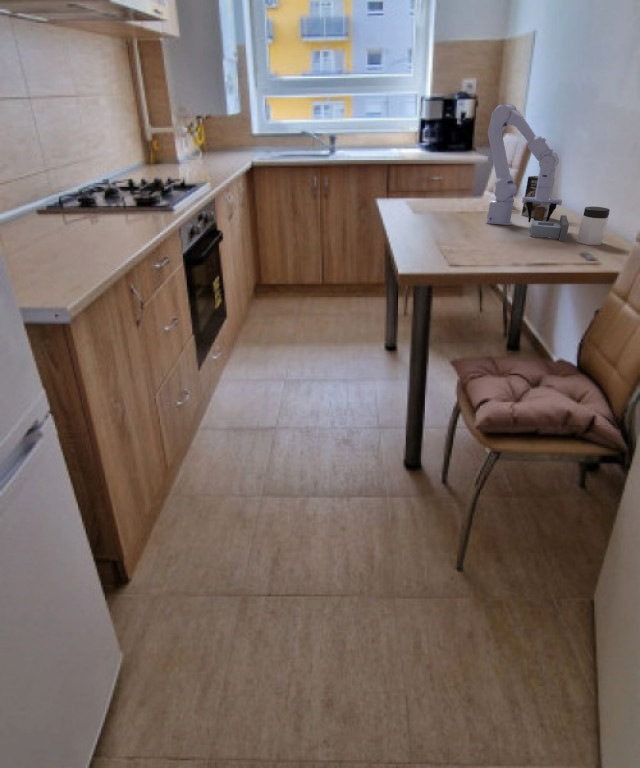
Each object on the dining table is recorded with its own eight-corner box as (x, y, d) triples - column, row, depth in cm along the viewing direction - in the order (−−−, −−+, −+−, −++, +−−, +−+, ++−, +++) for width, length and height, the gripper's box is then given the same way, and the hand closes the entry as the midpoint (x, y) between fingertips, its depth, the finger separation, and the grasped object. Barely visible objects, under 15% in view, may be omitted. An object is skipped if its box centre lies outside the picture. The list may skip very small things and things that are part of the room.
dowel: (532, 228, 228) (535, 207, 224) (532, 226, 231) (535, 205, 227) (541, 229, 227) (545, 208, 223) (541, 227, 230) (545, 206, 226)
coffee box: (520, 215, 251) (527, 176, 243) (528, 213, 254) (535, 175, 247) (539, 218, 245) (547, 179, 237) (547, 217, 248) (555, 177, 241)
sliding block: (530, 236, 215) (532, 225, 213) (530, 230, 224) (532, 220, 222) (558, 238, 213) (560, 227, 211) (557, 233, 221) (559, 222, 219)
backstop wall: (559, 241, 209) (562, 224, 206) (557, 230, 224) (560, 215, 222) (565, 241, 209) (568, 224, 206) (563, 231, 224) (566, 215, 221)
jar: (607, 244, 206) (616, 210, 201) (591, 246, 203) (599, 211, 197) (587, 238, 213) (595, 205, 208) (571, 240, 210) (578, 207, 205)
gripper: (524, 187, 220) (518, 223, 227) (565, 189, 216) (557, 226, 223) (524, 184, 226) (518, 219, 233) (564, 186, 222) (556, 222, 229)
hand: (537, 222), depth 228 cm, fingers open, 6 cm apart
